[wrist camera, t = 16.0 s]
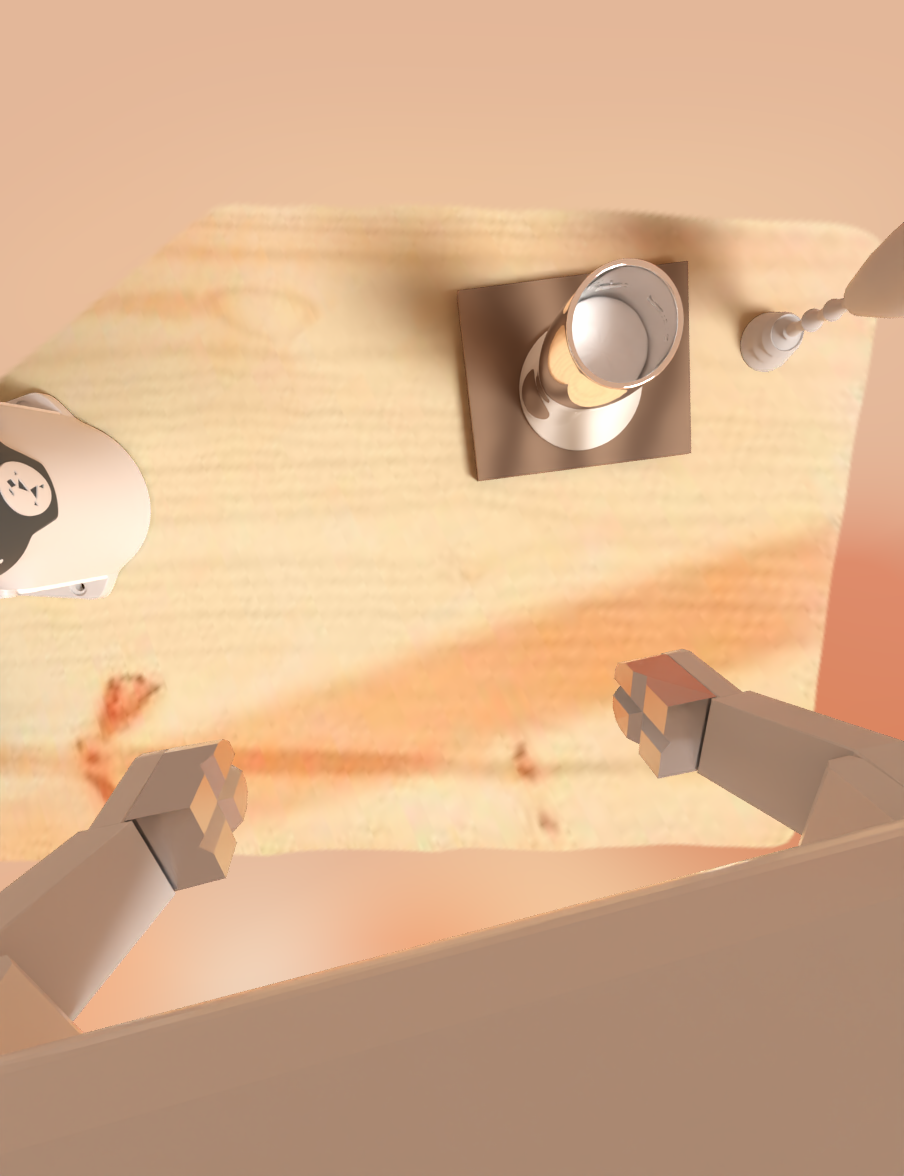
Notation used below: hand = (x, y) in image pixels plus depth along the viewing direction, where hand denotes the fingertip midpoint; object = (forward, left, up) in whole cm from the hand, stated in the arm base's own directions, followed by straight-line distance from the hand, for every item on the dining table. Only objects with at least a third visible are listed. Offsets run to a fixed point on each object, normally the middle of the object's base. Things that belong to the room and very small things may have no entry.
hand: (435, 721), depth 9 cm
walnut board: (+15, +14, -34) cm, 40 cm away
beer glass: (+12, +13, -33) cm, 37 cm away
